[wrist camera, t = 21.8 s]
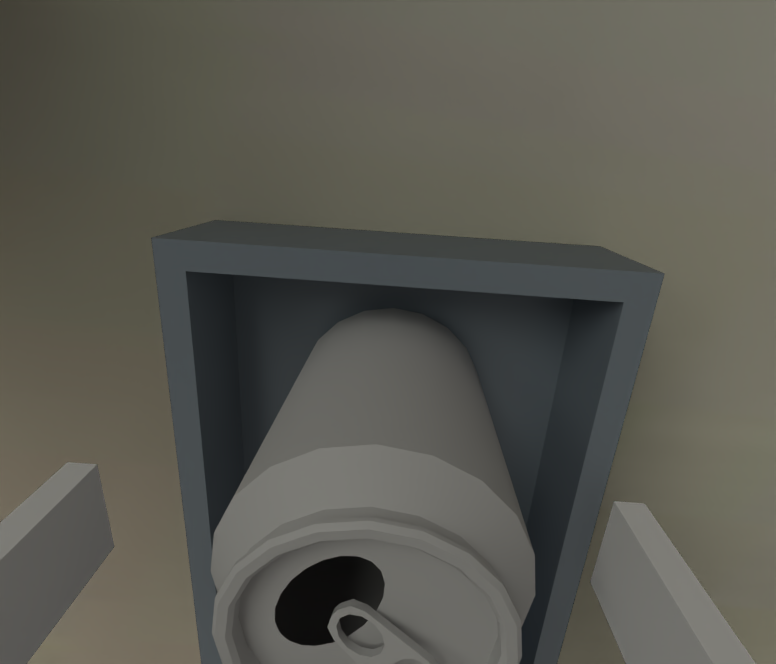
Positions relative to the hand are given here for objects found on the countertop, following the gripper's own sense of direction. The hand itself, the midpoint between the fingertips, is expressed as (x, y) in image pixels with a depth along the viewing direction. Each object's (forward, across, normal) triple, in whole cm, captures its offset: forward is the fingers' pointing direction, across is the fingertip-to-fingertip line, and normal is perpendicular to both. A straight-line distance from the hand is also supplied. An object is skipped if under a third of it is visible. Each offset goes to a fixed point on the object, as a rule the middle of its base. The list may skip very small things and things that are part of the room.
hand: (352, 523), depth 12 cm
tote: (+10, -1, +6) cm, 11 cm away
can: (+9, -1, 0) cm, 9 cm away
